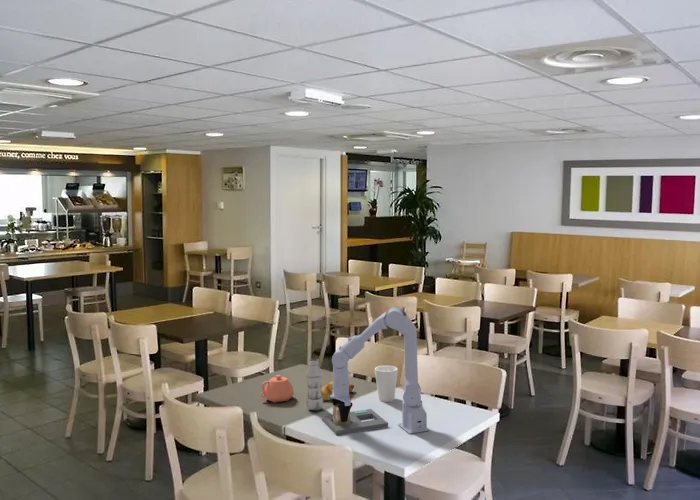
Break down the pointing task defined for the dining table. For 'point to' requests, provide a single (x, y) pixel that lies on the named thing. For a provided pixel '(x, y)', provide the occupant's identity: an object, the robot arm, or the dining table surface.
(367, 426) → the socket panel
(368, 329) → the robot arm
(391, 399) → the foam cup
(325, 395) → the croissant
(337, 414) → the plug
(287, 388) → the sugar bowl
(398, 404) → the dining table surface
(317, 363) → the plastic bottle
